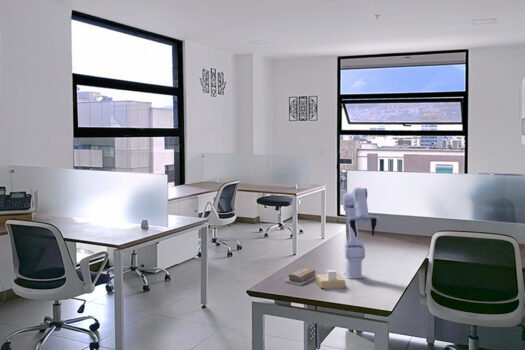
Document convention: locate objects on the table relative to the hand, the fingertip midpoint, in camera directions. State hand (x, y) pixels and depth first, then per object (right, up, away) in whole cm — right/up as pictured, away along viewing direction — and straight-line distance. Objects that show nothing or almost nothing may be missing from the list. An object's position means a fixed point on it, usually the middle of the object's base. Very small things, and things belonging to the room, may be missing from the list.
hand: (364, 235), depth 233 cm
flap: (-13, -24, +13) cm, 30 cm away
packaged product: (-27, -26, +25) cm, 45 cm away
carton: (-14, -26, +17) cm, 34 cm away
